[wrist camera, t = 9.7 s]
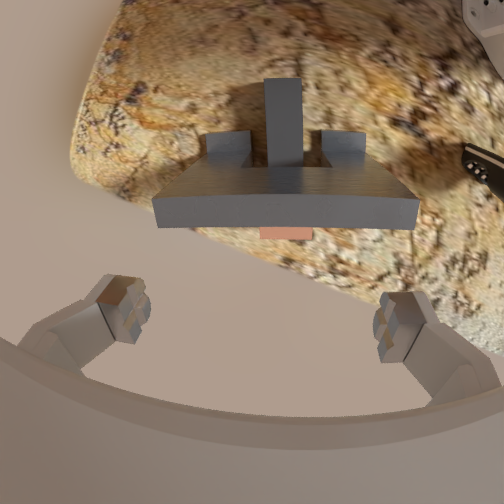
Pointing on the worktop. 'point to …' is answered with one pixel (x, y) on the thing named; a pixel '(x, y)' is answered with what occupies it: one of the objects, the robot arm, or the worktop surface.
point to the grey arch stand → (286, 189)
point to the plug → (284, 139)
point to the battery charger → (485, 168)
